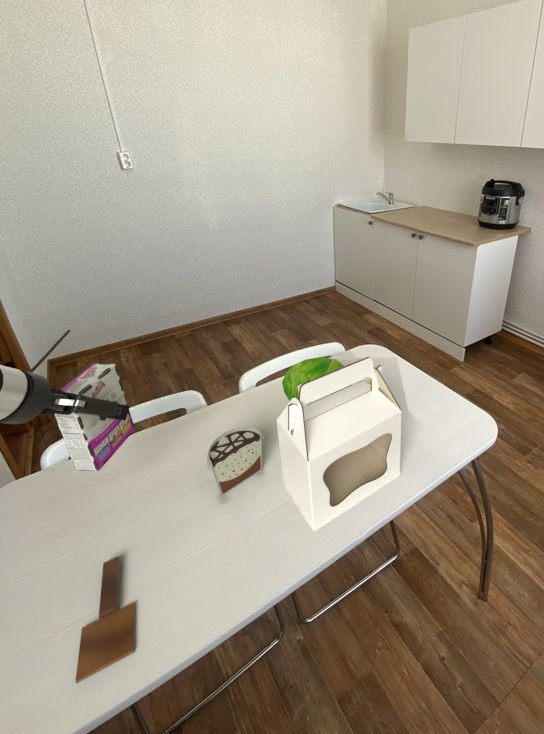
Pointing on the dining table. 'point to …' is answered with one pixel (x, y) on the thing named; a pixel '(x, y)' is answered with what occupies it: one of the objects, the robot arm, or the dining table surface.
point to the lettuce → (308, 374)
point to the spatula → (107, 627)
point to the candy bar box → (95, 419)
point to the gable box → (339, 441)
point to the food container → (235, 457)
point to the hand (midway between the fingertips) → (112, 412)
